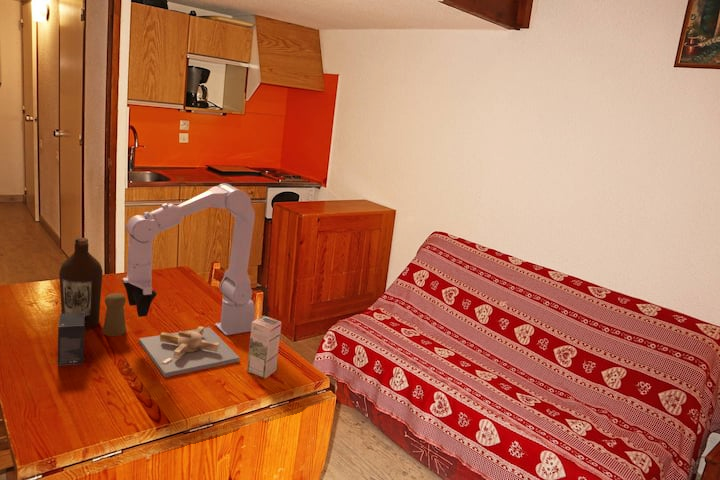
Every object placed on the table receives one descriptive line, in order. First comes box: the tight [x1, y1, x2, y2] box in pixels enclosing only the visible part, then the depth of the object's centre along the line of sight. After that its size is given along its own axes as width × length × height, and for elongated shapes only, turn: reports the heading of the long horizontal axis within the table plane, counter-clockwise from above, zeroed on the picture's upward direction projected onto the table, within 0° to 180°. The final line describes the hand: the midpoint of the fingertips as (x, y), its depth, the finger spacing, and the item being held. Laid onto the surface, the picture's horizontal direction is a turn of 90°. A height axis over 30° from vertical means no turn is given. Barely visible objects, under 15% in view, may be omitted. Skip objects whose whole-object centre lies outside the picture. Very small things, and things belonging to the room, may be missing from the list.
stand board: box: [138, 326, 240, 378], centre depth 144 cm, size 20×20×2 cm
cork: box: [102, 292, 127, 337], centre depth 148 cm, size 6×6×11 cm
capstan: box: [159, 326, 219, 359], centre depth 143 cm, size 12×12×4 cm
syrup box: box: [246, 315, 282, 379], centre depth 138 cm, size 6×6×14 cm
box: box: [57, 313, 85, 367], centre depth 132 cm, size 8×6×11 cm
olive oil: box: [58, 237, 103, 331], centre depth 148 cm, size 11×11×25 cm
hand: (138, 310), depth 141 cm, fingers open, 7 cm apart
